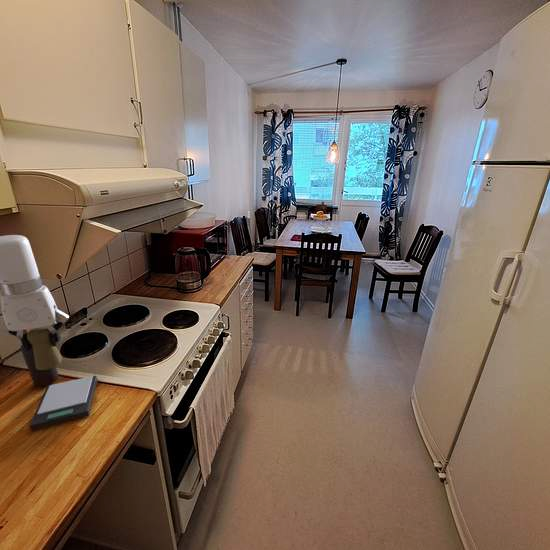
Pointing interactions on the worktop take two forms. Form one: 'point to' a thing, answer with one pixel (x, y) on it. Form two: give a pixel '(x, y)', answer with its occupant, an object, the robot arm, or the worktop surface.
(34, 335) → the cork
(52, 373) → the bottle
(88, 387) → the scale
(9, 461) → the worktop surface
